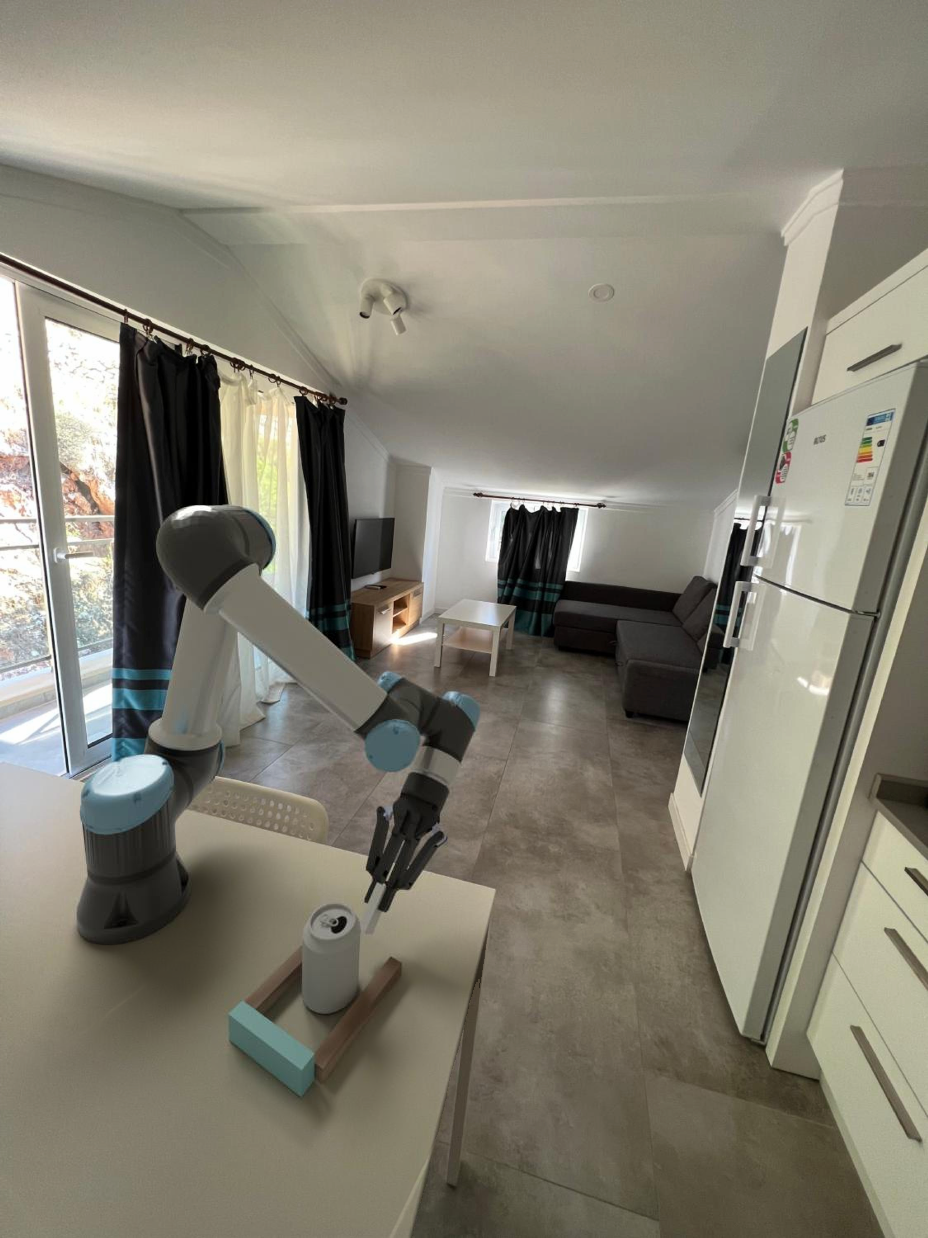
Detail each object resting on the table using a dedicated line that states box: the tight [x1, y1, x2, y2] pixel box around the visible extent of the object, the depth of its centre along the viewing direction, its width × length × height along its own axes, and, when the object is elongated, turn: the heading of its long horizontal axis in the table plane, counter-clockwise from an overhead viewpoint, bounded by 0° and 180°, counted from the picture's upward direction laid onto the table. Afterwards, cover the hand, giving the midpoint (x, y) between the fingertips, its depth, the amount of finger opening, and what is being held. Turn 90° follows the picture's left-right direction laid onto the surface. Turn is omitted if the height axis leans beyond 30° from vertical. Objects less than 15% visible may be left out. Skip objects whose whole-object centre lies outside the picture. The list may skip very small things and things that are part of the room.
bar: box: [227, 1000, 315, 1098], centre depth 59 cm, size 12×2×4 cm, turn 63°
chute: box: [243, 943, 403, 1084], centre depth 67 cm, size 14×16×2 cm
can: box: [301, 901, 361, 1015], centre depth 67 cm, size 8×8×12 cm
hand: (364, 931), depth 73 cm, fingers closed
